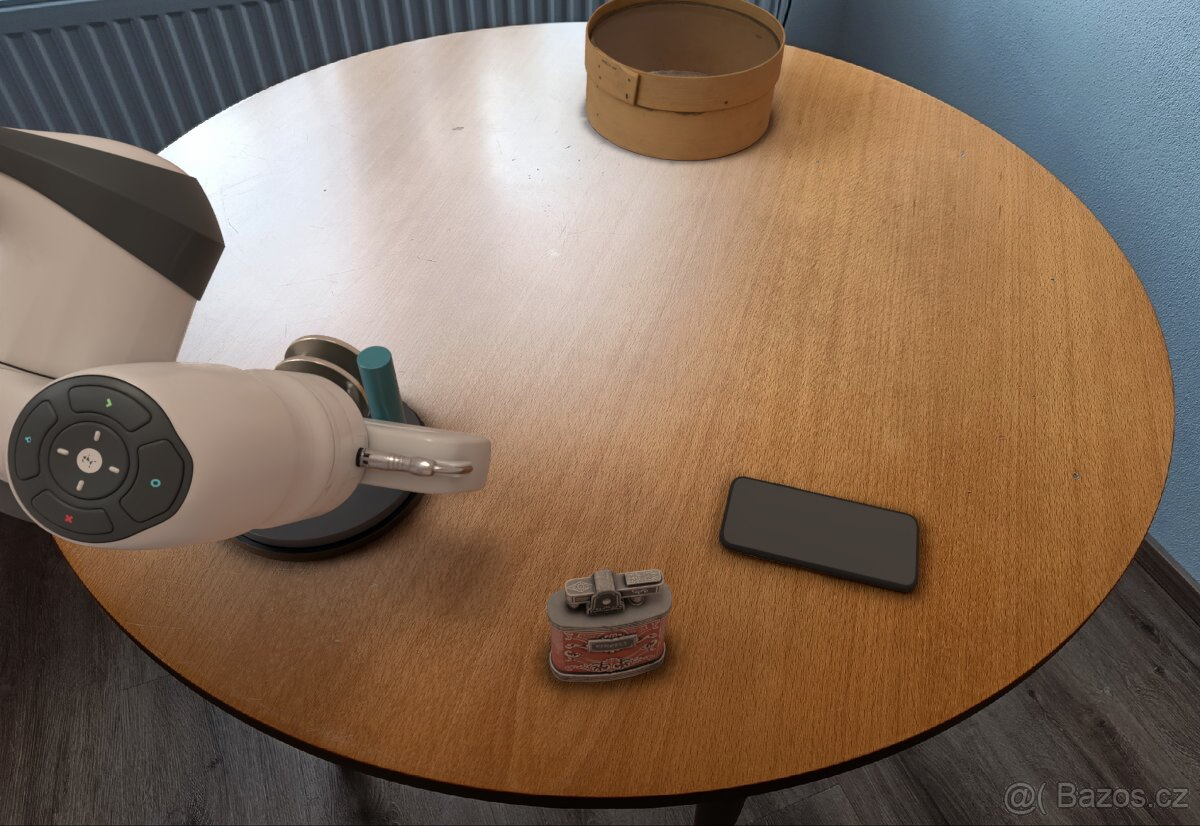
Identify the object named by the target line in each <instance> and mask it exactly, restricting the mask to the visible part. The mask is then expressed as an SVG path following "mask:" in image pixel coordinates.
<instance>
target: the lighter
mask: <svg viewBox="0 0 1200 826" xmlns="http://www.w3.org/2000/svg"><path fill="white" fill-rule="evenodd" d="M664 578H665V577H664V573H663V571H661V570H660V569H658V568H651V569H643V570H636V571H627V572H618V573H617V572H616V571H613V570H612V569H610V568H602V569H597V570H595V571H593V573H592V574H589V575H588V576H586V577H585V576H584V577H577V578H570V579H567V580H566V581H565V583H564V587H563V588H561V589H558V590H556V591H554V592H553V593H551V595H549V597H548V599H547V601H546V618H547V620H548V623H549V627H550V643H551V644H550V647H551V650H550V652H549V667H550V670H551V673H552V674H553V675H554V677H555V678H557V679H558V680H559V681H564V682H574V683H575V682H576V683H578V682H579V683H594V682H595V683H596V682H608V681H610V682H611V681H617V680H621V679H626V678H630V677H635V676H639V675H641V674H644V673H647V672H651V671H653V670H656V669H657V668H659V667H660V666H661V665H662V664H663V662H664V659H665V655H666V643H665V637H666V629H667V622H668V617H669V616H668V615H669V613H671V609H672V607H673V591H672V590H671V588H670V586H669V585H668V584H667V583H666V582H665V579H664Z"/></svg>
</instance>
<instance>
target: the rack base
mask: <svg viewBox="0 0 1200 826" xmlns="http://www.w3.org/2000/svg"><path fill="white" fill-rule="evenodd" d="M410 409H411V410H412V411H413V412H414V414H415V415H416V417H417V419H418V420H419V423H420V426H423V427H426V425H425V423H424V421H423V420H422V419H421V417H420V416H419V415H418V413H417V412H416V411H414V410H413V409H412V407H410ZM424 494H425V493H417V492H411V493H410V494H409V496H408V497H407V498H406V499H405V500H404V502H403V503H402V504H401V505H400V506H399V507H398V508H397V509H396V510H395V511H394V512H392V513H391V514H390V515H389V516H388V517H386V518H385V519H383V520H382V521H381V522H379V523H378V524H376V525H374V526H373V527H371V528H369V529H367V530H366V531H364V532H362V533H359V534H357V535H355V536H352V537H350V538H347V539H344V540H341V541H338V542H335V543H330V544H325V545H321V546H313V547H280V546H273V545H269V544H265V543H261V542H258V541H256V540H253V539H250V538H248V537H246V536H245V535H243V534H241V535H239V536H235V537H232V538H229V540H230V541H231V542H232V543H234V544H236V545H237V546H238V547H240V548H242V549H243V550H245V551H248V552H250V553H252V554H254V555H257V556H260V557H264V558H267V559H271V560H277V561H282V562H316V561H322V560H328V559H332V558H336V557H339V556H344V555H347V554H349V553H353V552H355V551H358V550H360V549H363V548H364V547H366V546H368V545H370V544H373V543H375V542H376V541H378V540H380V539H381V538H382V537H384V536H386V535H387V534H389V533H390V532H392V531H393V530H394V529H395V528H397V526H399V525H401V523H402V522H403V521H404V520H405V519H406V518H407V517H408V516H409V515H410V514H411V513H412V512H413V510H414V509H415V508H416V507H417V505H418V504H419V503H420V502H421V499H422V498H423V496H424Z"/></svg>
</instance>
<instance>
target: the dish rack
mask: <svg viewBox="0 0 1200 826" xmlns="http://www.w3.org/2000/svg"><path fill="white" fill-rule="evenodd" d="M273 370H280V371H290V372H299V373H308V374H313V375H317V376H320V377H323V378H326V379H328V380H330V381H332V382H333V383H335V384H337V385H338V386H339V387H341V388H342V389H343V390H344V391H345V392H346V393H347V394H348V395H349V396H350V397H351V398H352V400H353V401H354V402H355V404H356V405H357V407H358V409H359V410H360V412H361V415H362V417H363V418H369V419H376V420H383V421H390V422H396V423H403V424H410V425H417V426H420V423H419V420H418V419H417V417H416V415H415V414H414V412H415V411H414V410H413V409H412V408H411V406H409V405H408V404H407V403H406V402H405V401H404V400H403V399H402V397H401V396H402V395H401V392H400V387H399V382H398V377H397V373H396V368H395V365H394V359H393V354H392V352H391V350H389V348H387V347H385V346H381V345H371V346H368V347H366V348H363V349H362V350H359V349H357V347H355V346H353V345H351V344H349V343H348V342H346V341H344V340H341V339H339V338H336V337H333V336H330V335H322V334H308V335H304V336H300V337H298V338H296V339H295V340H293V341H292V342H291V343H290V344H289V345H288V347H287V348H286V350H285V352H284V355H283V360H281V361H279V362H278V364H277V365H276V366H275V367H274V369H273ZM410 408H411V409H412V410H413V411H414V412H413V411H412V410H411V409H410ZM410 493H411V491H405V490H399V489H392V488H386V487H380V486H373V485H367V484H361V483H359V484H358V485H357V487H356V488H355V490H354V491H353V492H352V494H351V495H350V496H349V497H348V498H347V499H346V500H345V501H344V502H343V503H342V504H341V505H339V506H338V507H336V508H335V509H333V510H332V511H330V512H328V513H325V514H323V515H320V516H317V517H314V518H309V519H305V520H301V521H297V522H293V523H289V524H285V525H281V526H277V527H273V528H265V529H252V530H250V531H248V532H246V533H244V534H243V535H245V536H246V537H248V538H250V539H253V540H256V541H258V542H261V543H265V544H269V545H273V546H280V547H313V546H321V545H325V544H330V543H335V542H338V541H341V540H344V539H347V538H350V537H352V536H355V535H357V534H359V533H362V532H364V531H366V530H367V529H369V528H371V527H373V526H374V525H376V524H378V523H379V522H381V521H382V520H383V519H385V518H386V517H388V516H389V515H390V514H391V513H392V512H394V511H395V510H396V509H397V508H398V507H399V506H400V505H401V504H402V503H403V502H404V500H405V499H406V498H407V497H408V496H409V494H410Z"/></svg>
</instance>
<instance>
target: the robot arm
mask: <svg viewBox="0 0 1200 826" xmlns="http://www.w3.org/2000/svg"><path fill="white" fill-rule="evenodd" d="M225 248H226V243H225V240H224V236H223V233H222V229H221V227H220V222H219V221H218V218H217V215H216V212H215V210H214V208H213V206H212V204H211V202H210V200H209V198H208V196H207V193H206V192H205V190H204V188H203V186H202V185H201V183H200V182H199V180H198V179H197V177H194V176H191V175H189V174H188V173H187V172H186V171H185V170H184V169H182V168H181V167H179V166H178V165H176V164H175V163H173V162H172V161H170V160H168V159H166V158H164V157H162V156H160V155H158V154H156V153H154V152H152V151H149V150H147V149H144V148H141V147H139V146H136V145H133V144H129V143H126V142H122V141H119V140H114V139H109V138H104V137H99V136H93V135H88V134H87V135H86V134H79V133H78V134H77V133H69V132H68V133H67V132H57V131H46V130H45V131H44V130H34V129H22V128H16V127H15V128H14V127H7V126H0V513H3V514H6V515H8V516H11V517H13V518H17V519H20V520H23V521H25V522H28V523H32V524H36V525H38V527H40V528H41V529H43V530H45V531H46V532H47V533H49V534H51V535H53V536H55V537H57V538H58V539H59V538H60V539H61V540H64V541H67V542H69V543H72V544H74V545H77V546H83V547H87V548H94V549H100V550H101V549H102V550H112V551H113V550H114V551H161V550H172V549H181V548H188V547H196V546H200V545H207V544H211V543H215V542H220V541H225V540H228V539H229V540H230V538H232V537H235V536H239V535H241V534H244V533H246V532H248V531H250V530H252V529H265V528H273V527H277V526H281V525H285V524H289V523H293V522H297V521H301V520H305V519H309V518H314V517H317V516H320V515H323V514H325V513H328V512H330V511H332V510H333V509H335V508H336V507H338V506H339V505H341V504H342V503H343V502H344V501H345V500H346V499H347V498H348V497H349V496H350V495H351V494H352V492H353V491H354V490H355V488H356V487H357V485H358V484H359V483H361V484H367V485H373V486H380V487H386V488H392V489H399V490H405V491H411V492H417V493H424V494H430V495H457V494H465V493H466V494H467V493H472V492H477V491H478V492H479V491H480V490H483V489H484V488H485V487H486V485H487V481H488V478H489V473H490V472H489V471H490V466H491V457H492V442H491V439H490V438H489V437H487V436H484V435H480V434H476V433H470V432H463V431H456V430H450V429H443V428H436V427H429V426H425V427H423V426H417V425H410V424H403V423H396V422H390V421H383V420H376V419H369V418H363V417H362V415H361V412H360V410H359V409H358V407H357V405H356V404H355V402H354V401H353V400H352V398H351V397H350V396H349V395H348V394H347V393H346V392H345V391H344V390H343V389H342V388H341V387H339V386H338V385H337V384H335V383H333V382H332V381H330V380H328V379H326V378H323V377H320V376H317V375H313V374H308V373H299V372H290V371H280V370H274V369H270V368H269V369H268V368H249V369H242V368H238V367H236V366H230V365H227V364H220V363H210V362H196V361H195V362H194V361H178V357H179V354H180V352H181V348H182V346H183V343H184V340H185V338H186V335H187V332H188V329H189V326H190V323H191V320H192V317H193V315H194V311H195V308H196V305H197V303H198V302H201V300H202V299H203V296H204V294H205V292H206V289H207V288H208V285H209V284H210V281H211V279H212V276H213V274H214V273H215V270H216V268H217V265H218V264H219V261H220V259H221V257H222V255H223V252H224V251H225Z"/></svg>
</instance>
